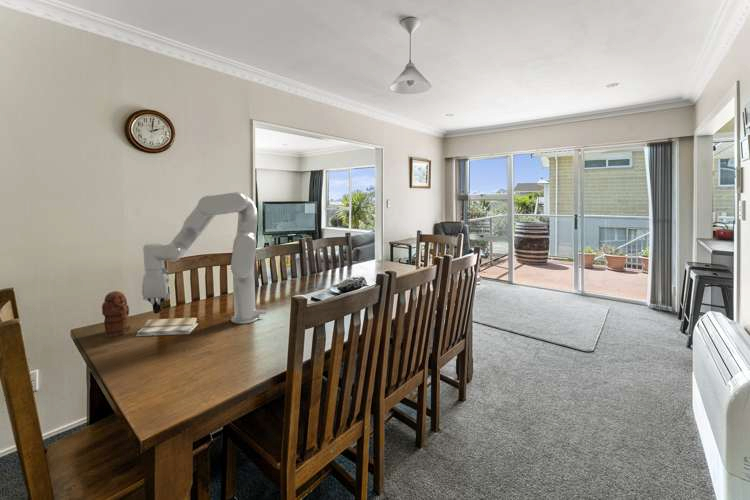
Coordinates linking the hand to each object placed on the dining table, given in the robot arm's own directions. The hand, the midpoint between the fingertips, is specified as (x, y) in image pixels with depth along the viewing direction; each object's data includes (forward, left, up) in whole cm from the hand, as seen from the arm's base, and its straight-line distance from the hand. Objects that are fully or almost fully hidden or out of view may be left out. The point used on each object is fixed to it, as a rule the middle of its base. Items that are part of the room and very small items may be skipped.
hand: (157, 312), depth 160 cm
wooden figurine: (+15, 0, -7) cm, 16 cm away
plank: (-5, +2, -6) cm, 8 cm away
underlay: (-4, +5, -7) cm, 10 cm away
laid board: (-3, +8, -7) cm, 11 cm away
